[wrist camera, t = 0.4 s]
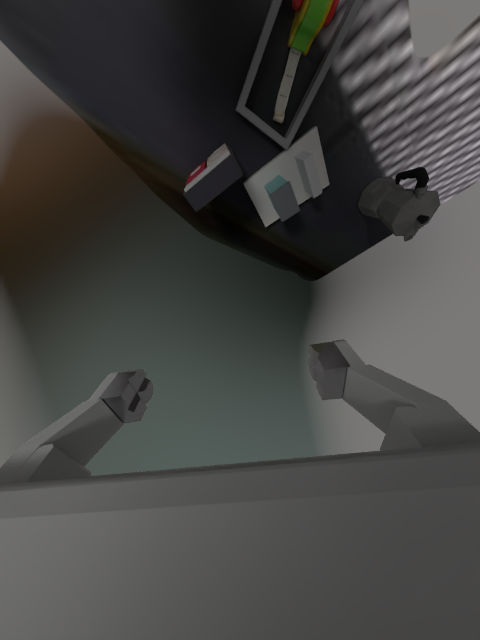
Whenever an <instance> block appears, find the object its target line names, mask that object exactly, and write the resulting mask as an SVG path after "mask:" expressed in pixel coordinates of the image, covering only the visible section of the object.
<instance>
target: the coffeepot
mask: <svg viewBox="0 0 480 640" xmlns="http://www.w3.org/2000/svg"><path fill="white" fill-rule="evenodd" d="M407 178H412V179H413V178H416V179H417V184H416V187H415V189H404V188H403V186H401V185H400V184H399V182H400V179H403V180H405V179H407ZM428 180H429V176H428V174H427V171H426V169H425V168H423V167H418V168H415V169H412V170H408V171H404V172H401V173H398V174H397V175H396V178H395V180H394V179H393V178H391V177H381V178H376V179H375V180H374V181H372V182H371V183H370V184H369V185H368V186H367V187H366V188H365V189H364V190H363V192H362V194H361V196H360V199H359V203H358V207H359V210H360V211H361V213H362V215H366V216H370V217H374V218H381V220H382V222H383V223H384V224H385V225H386V226H387V227H388V229H389V230H390V231H391V232H392V233H393V234H394V235H395V236H404V241H408V240H410V239H412V238H413V236H415V234H416V232H417V231H418V229H420V228H421V227H423V226H424V225H426V224H427V223H428V222H429V221H430V219H431V218H432V216H433V215H434V213H435V212H436V210H437V209H438V207H439V206H440V201H439V196H438V191H427V188H428V186H426V185H427V183H428Z"/></svg>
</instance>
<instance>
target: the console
mask: <svg viewBox="0 0 480 640" xmlns="http://www.w3.org/2000/svg"><path fill="white" fill-rule="evenodd" d="M278 175H280V176H281V177H283V178H284V179H285V180H286V181H287V182H288V181H290V183H291V186H292V188H293V191H294V194H295V197H296V200H297V203H298V205H300V204H301V203H303V202H304V201H306V200H307V199H309V198H310V197H313V198H315V197H317V196H318V195H320V194H321V193H322V189H324V188H325V187H327V186H328V185H329V180H328V175H327V171H326V166H325V162H324V157H323V152H322V148H321V143H320V139H319V134H318V129H317V126H314V127H312V128H311V129H310V130H309V131H307V132H306V133H305V134H304V135H302V136H301V137H300V138H299V139H297V140H296V141H295V142H294V143H292V144H291V145H290V146H289V147H288V149H287V150H286V149H285V150H283V151H282V152H281V153H280V154H278V155H277V156H276V157H275V158H273V159H272V160H271V161H270V162H268V163H267V164H266V165H265V166H263V167H262V168H261V169H260V170H258V171H257V172H256V173H255V174H253V175H252V176H251V177H250V178H248V179H247V180H246V181H245V182H243V184H244V186H245V188H246V190H247V192H248V194H249V196H250V198H251V199H252V201H253V203H254V205H255V207H256V209H257V211H258V213H259V215H260V217H261V219H262V221H263V223H264V225H265V227H267V226H268V225H270V224H271V223H273V222H274V221H276V220H277V219H279V218H280V216H279V215H278V213H277V212H276V210H275V209H274V207H273V205H272V202H271V200H270V198H269V196H268V194H267V191H266V189H265V187H264V186H265V185H266V184H267V183H269V182H270V181H271V180H273V179H274V178H275V177H276V176H278Z"/></svg>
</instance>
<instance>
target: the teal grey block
mask: <svg viewBox="0 0 480 640" xmlns="http://www.w3.org/2000/svg"><path fill="white" fill-rule="evenodd" d="M264 187H265V189H266V191H267V194H268V196H269V198H270V200H271V202H272V205H273V207H274V209H275V210H276V212H277V213H278V215H279V216H280V219H281V221H282V222H284V221H285V220H287V219H288V218H290V217H291V216H293V215H294V214H296V213H297V212H299V211H300V208H299V206H298V203H297V200H296V197H295V194H294V191H293V188H292V186H291V183H290V181H288V182H287V181H286V180H285V179H284V178H283V177H281V176H280V175H278V176H276V177H275V178H274V179H273V180H271V181H270V182H269V183H267V184H266V185H265V186H264Z"/></svg>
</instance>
